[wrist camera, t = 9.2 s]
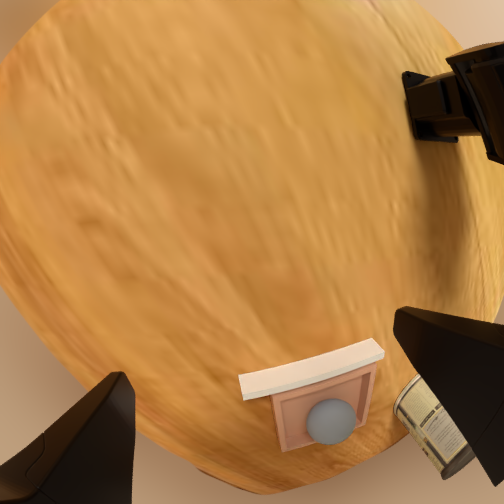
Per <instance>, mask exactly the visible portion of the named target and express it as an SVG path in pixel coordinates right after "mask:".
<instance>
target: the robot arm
mask: <svg viewBox="0 0 504 504" xmlns="http://www.w3.org/2000/svg"><path fill="white" fill-rule="evenodd" d="M445 59H446V61H447V63H448V65H450V66H451V68H452V70H453V71H451V72H447V73H443V74H440V75H436V76H433V77H429V76H426V75H422V74H418V73H414V72H409V71H405V72H403V73H402V77H403V81H404V85H405V89H406V94H407V98H408V103H409V108H410V114H411V119H412V125H413V131H414V136H415V138H416V139H417V140H420V141H437V142H449V143H457V142H458V136H482V139H483V142H484V145H485V148H486V151H487V152H486V154H487V157H488V159H489V160H492V161H494V162H497V163H500V164H503V165H504V42H495V43H488V44H482V45H479V46H475V47H472V48H469V49H466V50H463V51H461V52H459V53H456V54H454V55H452V56H450V57H447V58H445ZM407 76H408V77H407ZM419 134H420V136H419ZM393 333H394V336H395V338H396V339H397V341H398V342H399V344H400V346H401V347H402V349H403V350H404V352H405V354H406V355H407V357H408V359H409V360H410V362H411V364H412V365H413V367H414V368H415V369H416V371H417V372H418V374H419V375H420V376H421V377H422V379H423V380H424V381H425V383H426V384H427V386H428V387H429V388H430V390H431V391H432V392H433V394H434V395H435V396H436V398H437V399H438V401H439V402H440V403H441V405H442V406H443V408H444V409H445V410H446V412H447V413H448V415H449V416H450V418H451V419H452V420H453V422H454V423H455V425H456V426H457V428H458V429H459V431H460V432H461V434H462V435H463V437H464V438H465V440H466V441H467V443H468V444H469V446H470V447H471V449H472V451H473V452H474V454H475V455H476V457H477V458H478V460H479V462H480V463H481V465H482V467H483V468H484V470H485V472H486V473H487V475H488V477H489V478H490V480H491V482H492V483H493V485H494V486H495V487H496V486H497V485H498V484H500V483H501V482H502V481H503V480H504V325H501V324H495V323H490V322H485V321H479V320H474V319H469V318H464V317H459V316H453V315H448V314H443V313H438V312H433V311H428V310H423V309H419V308H414V307H409V306H404V307H402V308H399V309H397V310H396V312H395V318H394V326H393ZM134 446H135V392H134V389H133V387H132V385H131V384H130V382H129V380H128V378H127V376H126V374H125V373H124V372H122V371H118V372H111V373H110V374H109V375H108V376H106V377H105V378H104V379H103V380H102V381H101V382H100V383H99V384H97V385H96V386H95V387H94V388H93V389H92V390H91V391H89V392H88V393H87V394H86V395H85V396H84V397H83V398H81V399H80V400H79V401H78V402H77V403H76V404H75V405H74V406H72V407H71V408H70V409H69V410H68V411H67V412H66V413H64V414H63V415H62V416H61V417H60V418H59V419H58V420H57V421H55V422H54V423H53V424H52V425H51V426H50V427H49V428H48V429H46V430H45V431H44V433H42V434H41V435H40V436H38V437H37V438H36V439H35V440H34V441H33V442H31V443H30V444H29V445H28V446H27V447H26V448H24V449H23V450H21V451H20V452H19V453H17V454H16V455H15V456H13V457H12V458H11V459H9V460H8V461H6V462H5V463H4V464H2V465H1V466H0V504H132V476H133V460H134Z"/></svg>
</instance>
